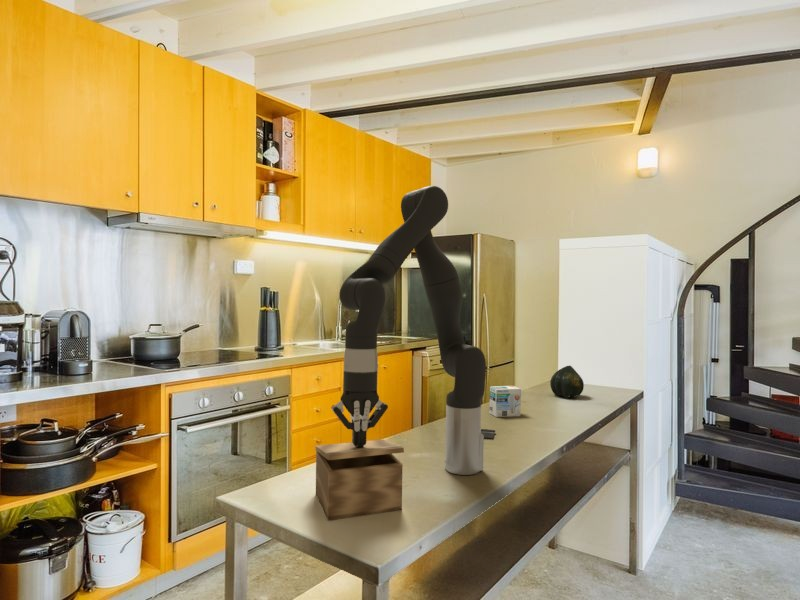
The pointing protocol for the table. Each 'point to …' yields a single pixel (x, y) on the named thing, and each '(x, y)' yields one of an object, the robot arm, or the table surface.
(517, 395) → the light bulb box
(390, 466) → the brown wooden box
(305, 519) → the table surface
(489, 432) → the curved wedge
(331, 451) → the lid
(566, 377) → the squash
